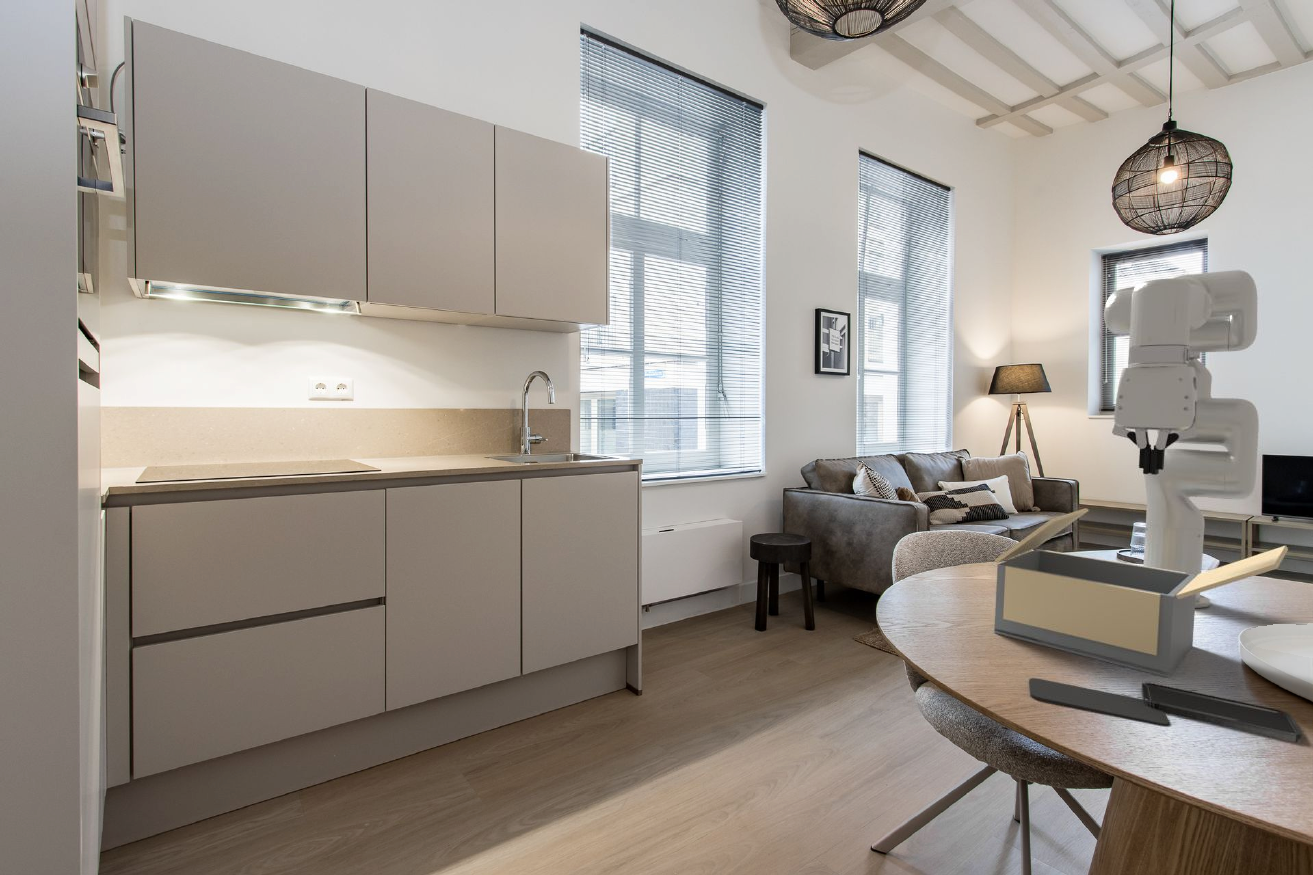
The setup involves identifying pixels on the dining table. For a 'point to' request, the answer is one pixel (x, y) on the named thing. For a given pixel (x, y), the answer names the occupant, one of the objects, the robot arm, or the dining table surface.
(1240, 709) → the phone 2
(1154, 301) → the robot arm
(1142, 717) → the phone
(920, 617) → the dining table surface
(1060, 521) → the carton flap
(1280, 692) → the dining table surface
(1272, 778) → the dining table surface
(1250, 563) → the carton flap
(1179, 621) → the carton
